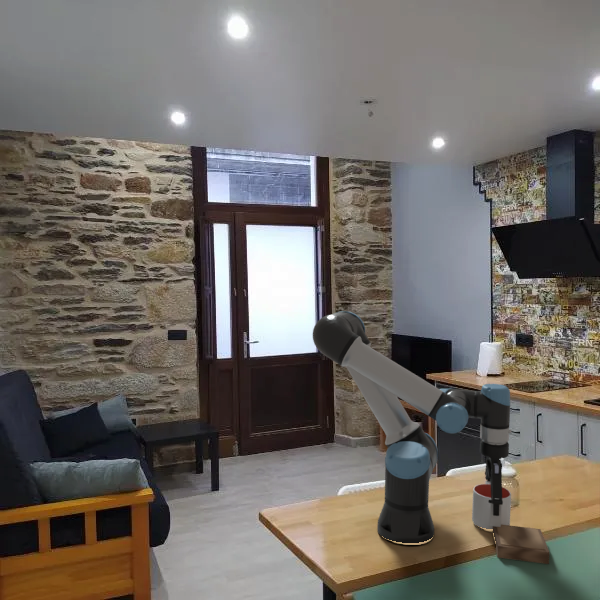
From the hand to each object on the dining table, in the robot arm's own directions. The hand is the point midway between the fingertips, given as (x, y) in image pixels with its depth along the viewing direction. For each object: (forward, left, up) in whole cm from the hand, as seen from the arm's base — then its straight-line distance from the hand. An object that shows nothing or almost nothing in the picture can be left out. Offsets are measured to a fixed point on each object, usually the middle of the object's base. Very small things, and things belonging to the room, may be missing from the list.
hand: (492, 515), depth 156 cm
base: (+6, -11, -3) cm, 13 cm away
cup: (0, 0, -3) cm, 3 cm away
